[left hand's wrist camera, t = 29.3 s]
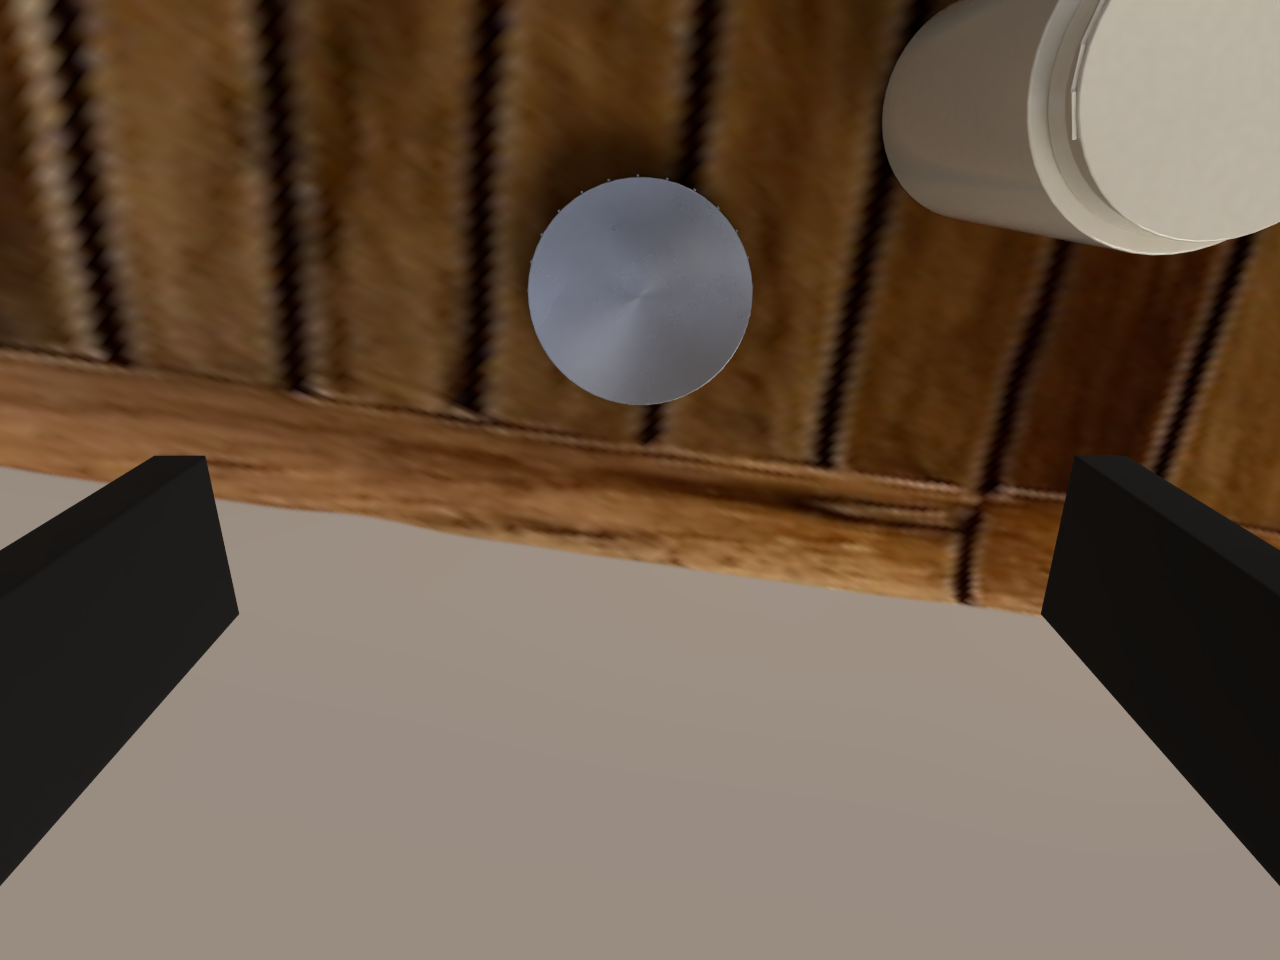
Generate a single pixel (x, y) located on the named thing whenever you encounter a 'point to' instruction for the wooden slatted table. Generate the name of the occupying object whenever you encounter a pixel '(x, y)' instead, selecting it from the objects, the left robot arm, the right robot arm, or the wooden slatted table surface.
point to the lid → (640, 290)
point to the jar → (1094, 119)
